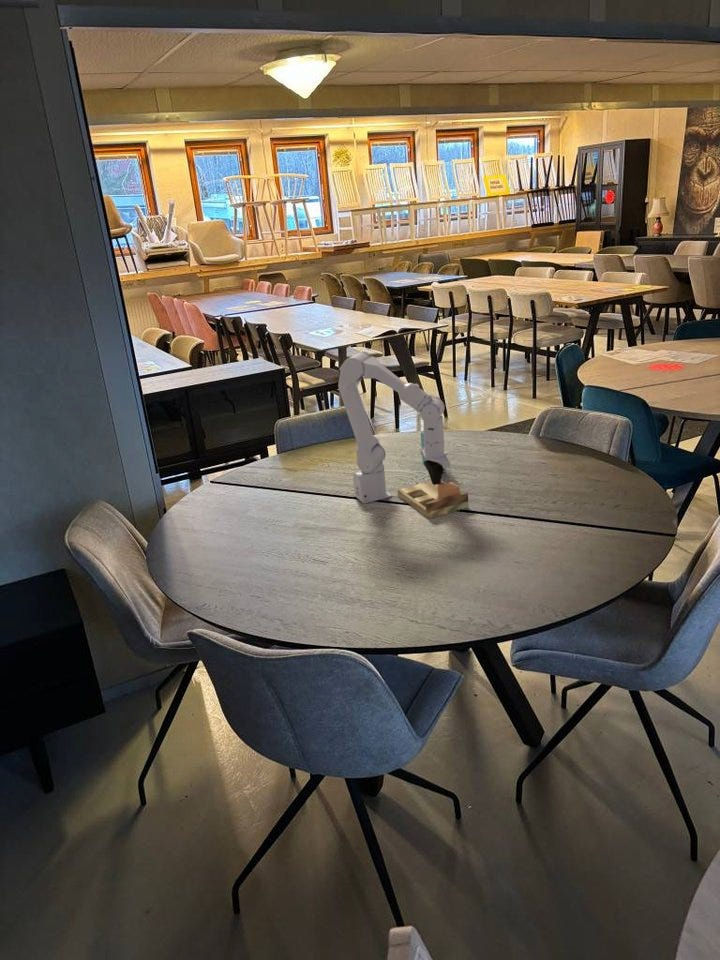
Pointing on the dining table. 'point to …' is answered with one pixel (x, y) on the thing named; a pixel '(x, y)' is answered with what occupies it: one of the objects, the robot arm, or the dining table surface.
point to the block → (448, 490)
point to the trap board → (432, 499)
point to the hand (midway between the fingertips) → (436, 483)
